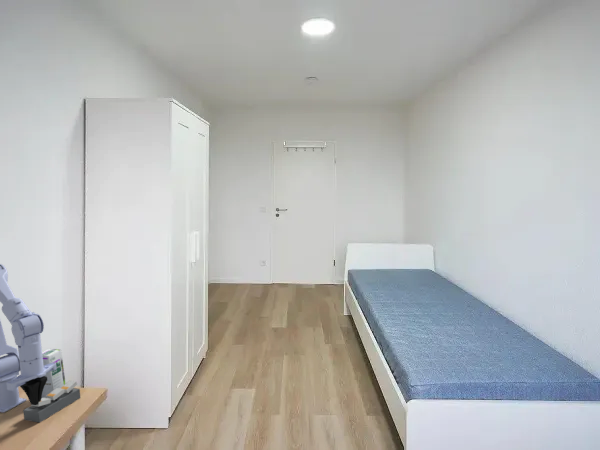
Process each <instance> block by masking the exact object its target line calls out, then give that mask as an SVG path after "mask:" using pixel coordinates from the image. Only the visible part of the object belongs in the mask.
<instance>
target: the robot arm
mask: <svg viewBox="0 0 600 450" xmlns="http://www.w3.org/2000/svg"><path fill="white" fill-rule="evenodd" d="M8 280H9V273H8V270H7V268H6V266H5V265H4V264H2V263H0V304H2V306H1V311H2V313H3V315H4V316H5V317H6V320H8V322H9V324H11V329H10V330H11V332H12V336H13V338H14V343H15V345H16V346H17V347H15V346H12V345H9V344H7V341H6V337H5V336H6V335H5V331H4V328H3V324H2V320H1V319H0V413H6V412H8V411H9V410H11V409H13V408H15V407H17V406H19V405H20V404H23V403H25V402H26V401H29V403H30V406H31V405H37V404H38V402H40V401H41V397H42V392H43V389H44V386H45V384H46V382H47V377H46V376H45V375H46V373H48V372H50V371H52V370H53V371H54V370H56V369H57V367H56V363H50V364H47V365H44V366H43V356H42V352H43V349H42V348H43V347H42V339H41V334H42V333H43V332H44V330H45V327H44V325H45V323H44V321H43V318H42V317H41V315H40V314H39V313H36V312H34V311H33V312H32V311H31V310H30V309H29V307H28V306H27V304H26V303H25V302H24V300H23V299H22V298H20V297H16V296H15V294H14V293H13V290H12V288H11V286H10V285H9V283H8V282H9V281H8ZM19 387H20V388H21V389H22V391H23V392H24V393H25V394H26V397H27V398H28V399H27V398H22V397H20V391H19Z"/></svg>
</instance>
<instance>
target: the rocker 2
mask: <svg viewBox="0 0 600 450" xmlns="http://www.w3.org/2000/svg"><path fill="white" fill-rule="evenodd" d="M63 393H64V389H60V388H56V389H55V390H53V391H52V392H51V393H49V394H48V395H47V396H46V398H49V399H51V400H55V399H57V398H58V397H59V396H60V395H62V394H63Z"/></svg>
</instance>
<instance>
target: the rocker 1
mask: <svg viewBox="0 0 600 450" xmlns="http://www.w3.org/2000/svg"><path fill="white" fill-rule="evenodd" d="M50 402H51V399H49V398H41V401H40V402H38V404H37V405H31V404H30V406H38V407H39V406H42V405H45V404H49V403H50Z"/></svg>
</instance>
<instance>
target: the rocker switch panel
mask: <svg viewBox="0 0 600 450" xmlns="http://www.w3.org/2000/svg"><path fill="white" fill-rule="evenodd" d="M80 399H81V390H80V388H75V387H74V388H73V389H72V390H71V391H70V392H69V393H63V394H62V395H60V396H59V397H58V398H57V399H55V400H51V402H50V403H49V404H45V405H42V406H39V407H38V406H31V405H30V406H28V407H26V408H25V409H23V410H22V412H23V421H29V422H33V423H34V422H35V423H42V422H43V421H45V420H47V419H48V418H50V417H52V416H53V415H55V414H56V413H58V412H60V411H61V410H63V409H65V408H66V407H68V406H69V405H71V404H73V403H75V402H76V401H78V400H80Z"/></svg>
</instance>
